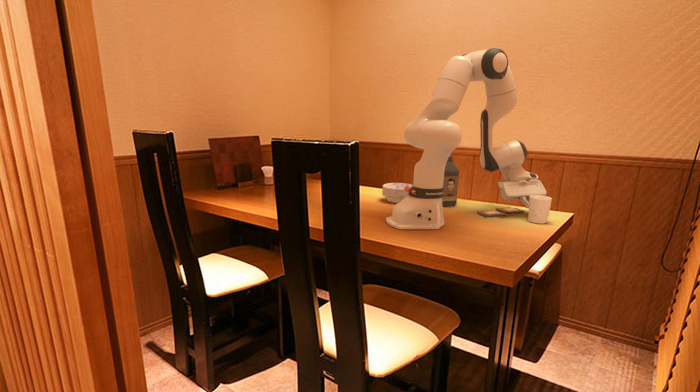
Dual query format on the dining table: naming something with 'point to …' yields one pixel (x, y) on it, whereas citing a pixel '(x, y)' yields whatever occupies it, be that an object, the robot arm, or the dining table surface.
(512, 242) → the dining table surface
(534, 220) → the white cup
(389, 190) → the paper bowls
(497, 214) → the tile left
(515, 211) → the tile right
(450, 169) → the liquor
